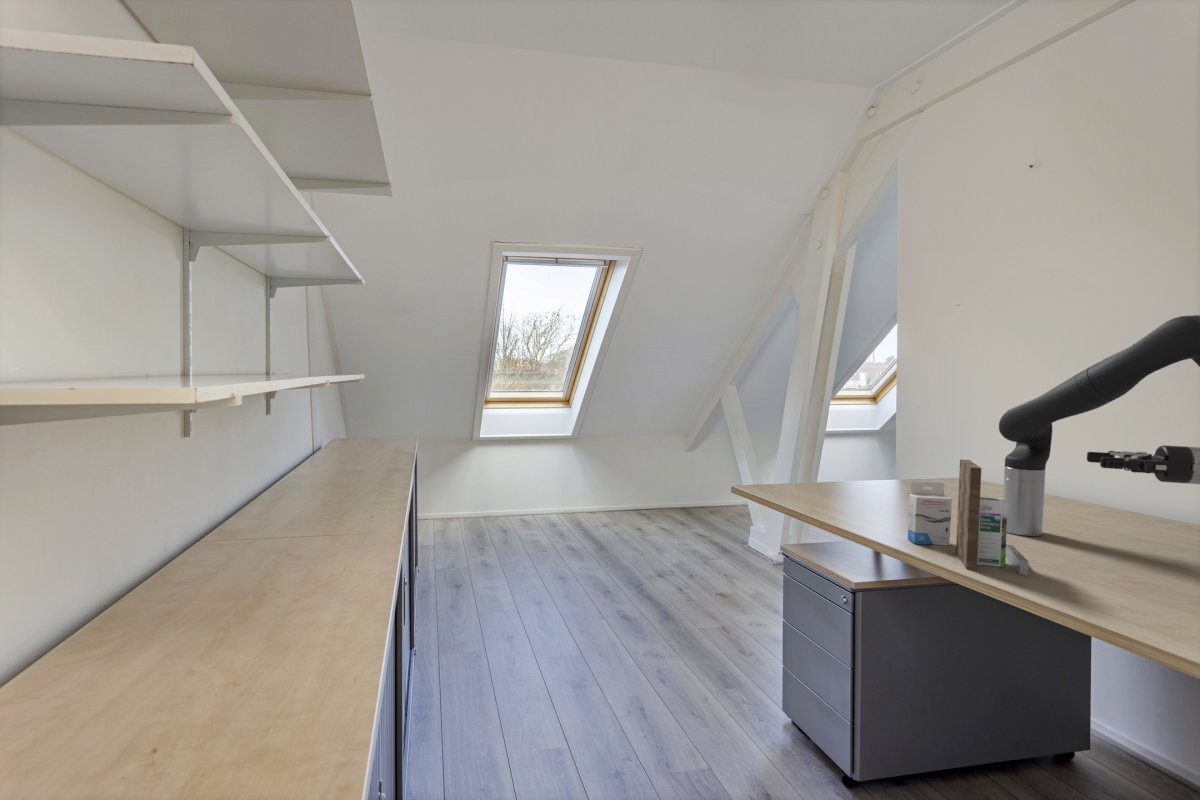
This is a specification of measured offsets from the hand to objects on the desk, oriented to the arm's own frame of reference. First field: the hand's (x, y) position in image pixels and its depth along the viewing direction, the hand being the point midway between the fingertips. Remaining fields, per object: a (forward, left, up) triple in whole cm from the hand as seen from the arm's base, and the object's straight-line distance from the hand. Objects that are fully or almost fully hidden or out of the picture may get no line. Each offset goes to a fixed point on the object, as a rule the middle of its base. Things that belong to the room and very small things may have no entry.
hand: (1094, 459), depth 146 cm
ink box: (-15, -29, -25) cm, 41 cm away
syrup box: (0, -19, -25) cm, 31 cm away
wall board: (0, -18, -24) cm, 30 cm away
